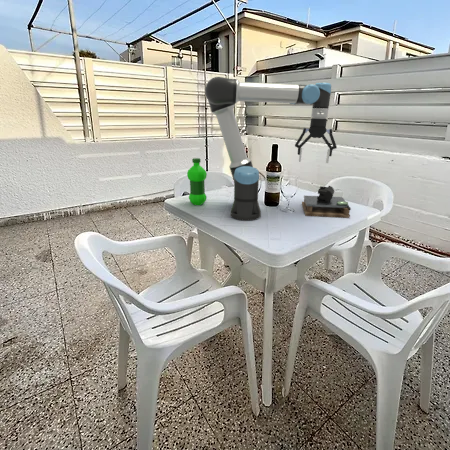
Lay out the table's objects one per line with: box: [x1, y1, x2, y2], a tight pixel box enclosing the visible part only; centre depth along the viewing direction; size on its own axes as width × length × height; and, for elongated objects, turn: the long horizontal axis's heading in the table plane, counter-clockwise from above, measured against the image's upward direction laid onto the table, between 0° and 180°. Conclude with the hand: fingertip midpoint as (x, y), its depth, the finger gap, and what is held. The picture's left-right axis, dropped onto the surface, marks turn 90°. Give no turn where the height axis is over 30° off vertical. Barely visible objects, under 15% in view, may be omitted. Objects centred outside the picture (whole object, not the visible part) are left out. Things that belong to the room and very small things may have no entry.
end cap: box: [316, 185, 335, 203], centre depth 151 cm, size 10×7×7 cm
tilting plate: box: [303, 195, 350, 208], centre depth 152 cm, size 20×16×3 cm
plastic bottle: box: [186, 157, 208, 206], centre depth 160 cm, size 10×10×25 cm
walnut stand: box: [301, 198, 352, 219], centre depth 153 cm, size 21×20×5 cm
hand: (313, 162), depth 151 cm, fingers open, 13 cm apart
